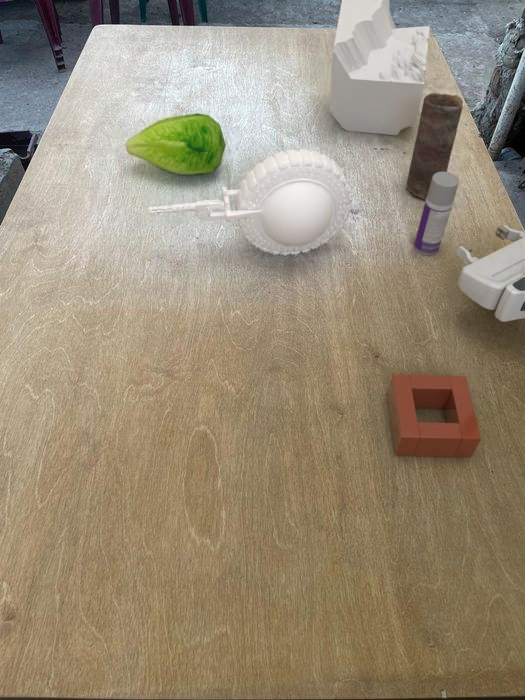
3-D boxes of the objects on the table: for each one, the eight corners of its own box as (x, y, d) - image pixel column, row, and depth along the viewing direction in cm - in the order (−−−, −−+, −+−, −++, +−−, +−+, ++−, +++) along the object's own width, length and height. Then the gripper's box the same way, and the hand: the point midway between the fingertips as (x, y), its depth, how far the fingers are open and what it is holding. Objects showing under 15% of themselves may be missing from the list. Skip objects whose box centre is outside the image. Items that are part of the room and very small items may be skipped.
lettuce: (135, 151, 136) (127, 99, 127) (227, 152, 137) (225, 100, 128) (127, 189, 127) (117, 136, 118) (225, 190, 128) (223, 137, 119)
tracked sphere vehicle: (158, 290, 109) (143, 195, 93) (153, 237, 118) (139, 142, 103) (352, 269, 113) (368, 175, 98) (333, 220, 122) (345, 126, 107)
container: (414, 237, 119) (432, 169, 108) (439, 241, 119) (459, 173, 107) (413, 253, 116) (431, 185, 105) (438, 257, 116) (459, 188, 104)
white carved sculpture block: (420, 93, 150) (442, 1, 127) (414, 146, 144) (437, 61, 121) (336, 85, 152) (343, -6, 129) (327, 137, 147) (332, 52, 123)
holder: (457, 395, 95) (466, 375, 91) (471, 457, 88) (481, 438, 84) (386, 394, 95) (392, 374, 91) (395, 456, 88) (401, 437, 84)
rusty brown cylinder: (398, 192, 128) (418, 99, 113) (413, 175, 132) (435, 84, 117) (432, 205, 126) (457, 112, 110) (447, 188, 130) (473, 96, 114)
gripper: (595, 248, 99) (528, 203, 106) (506, 297, 91) (440, 244, 99) (579, 277, 104) (515, 232, 111) (493, 326, 96) (431, 274, 104)
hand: (479, 238), depth 105 cm, fingers open, 8 cm apart
